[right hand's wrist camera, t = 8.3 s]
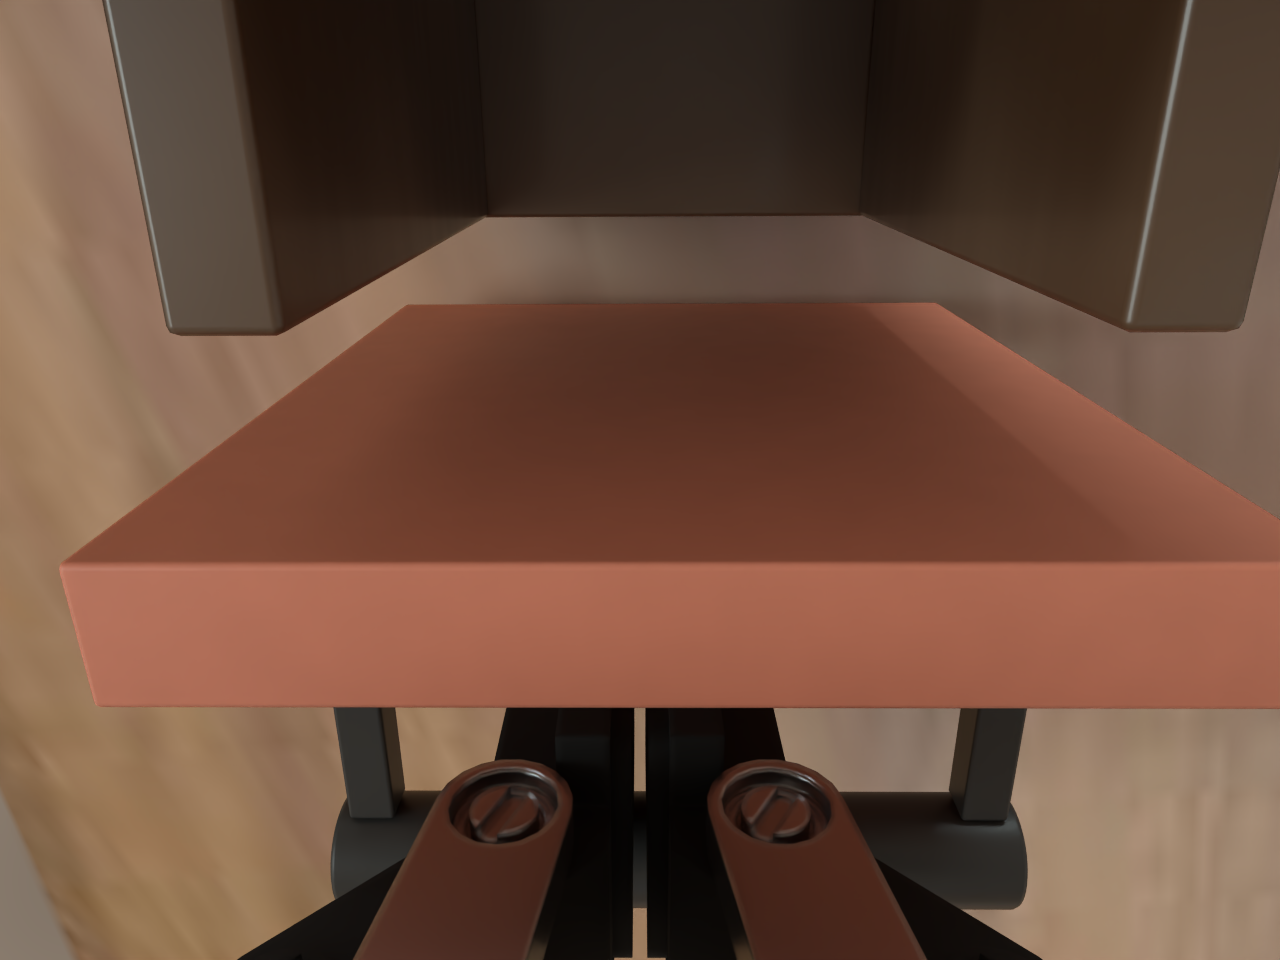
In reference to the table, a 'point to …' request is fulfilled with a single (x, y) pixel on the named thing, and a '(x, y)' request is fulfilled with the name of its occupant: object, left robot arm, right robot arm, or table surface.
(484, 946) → the right robot arm
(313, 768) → the table surface
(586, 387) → the drawer
